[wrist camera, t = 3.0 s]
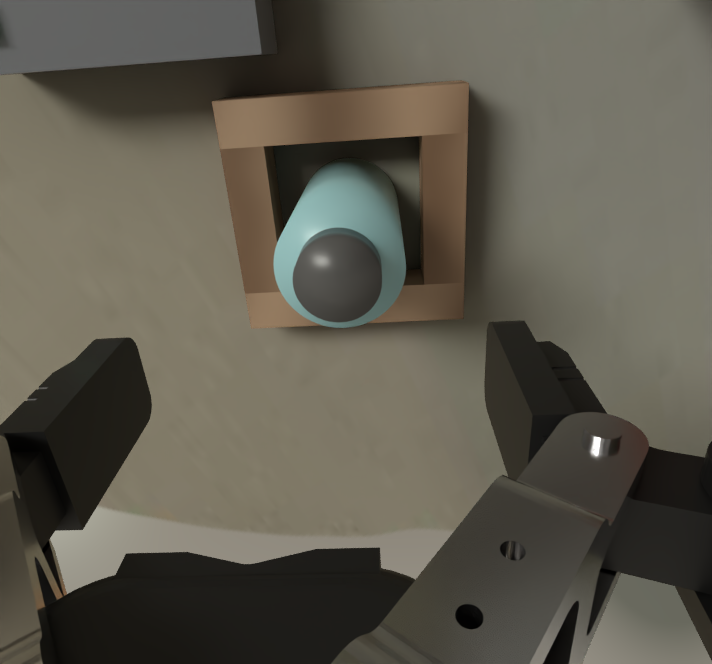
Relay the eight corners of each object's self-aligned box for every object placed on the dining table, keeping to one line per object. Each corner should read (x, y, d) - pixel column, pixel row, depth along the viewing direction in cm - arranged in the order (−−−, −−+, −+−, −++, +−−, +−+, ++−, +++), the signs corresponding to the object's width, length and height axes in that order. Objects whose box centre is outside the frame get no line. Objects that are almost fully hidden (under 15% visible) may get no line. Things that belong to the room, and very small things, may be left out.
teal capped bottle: (396, 154, 24) (406, 208, 16) (399, 250, 26) (409, 341, 18) (297, 161, 24) (257, 217, 16) (308, 255, 26) (277, 347, 18)
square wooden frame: (461, 80, 23) (468, 82, 21) (458, 301, 27) (463, 318, 25) (224, 97, 23) (211, 101, 22) (259, 310, 28) (251, 328, 26)
